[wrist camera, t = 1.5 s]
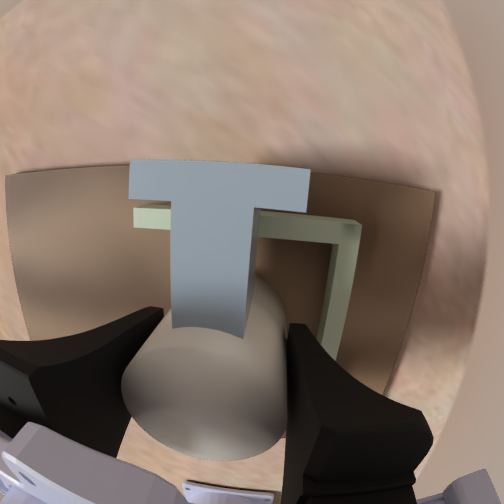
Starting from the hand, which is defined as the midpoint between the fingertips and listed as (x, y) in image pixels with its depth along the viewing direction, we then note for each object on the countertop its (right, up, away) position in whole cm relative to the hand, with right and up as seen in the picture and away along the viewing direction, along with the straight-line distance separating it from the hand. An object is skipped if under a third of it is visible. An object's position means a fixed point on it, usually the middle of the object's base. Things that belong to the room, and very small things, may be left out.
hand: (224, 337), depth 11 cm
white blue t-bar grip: (0, +2, +1) cm, 3 cm away
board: (-3, 0, +3) cm, 4 cm away
